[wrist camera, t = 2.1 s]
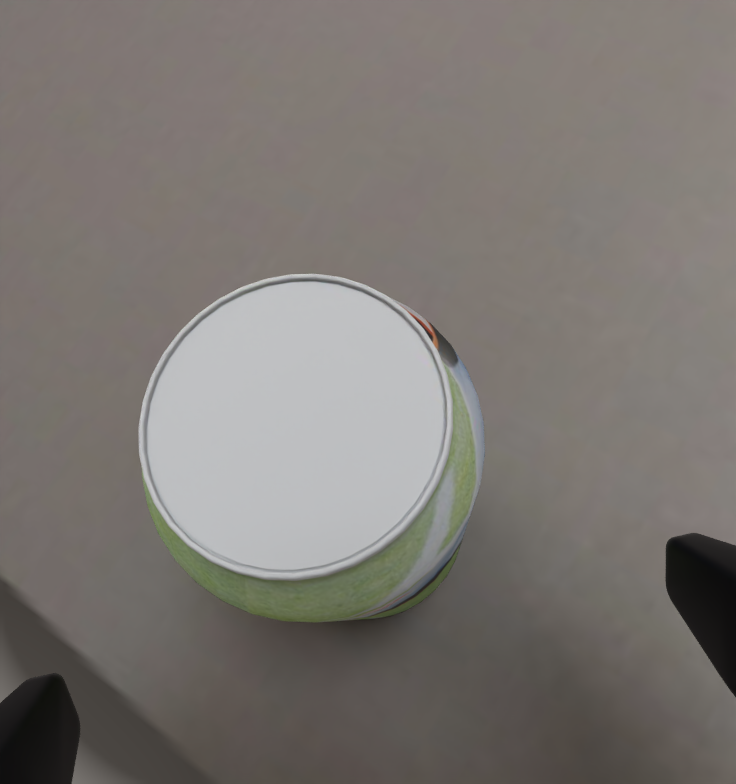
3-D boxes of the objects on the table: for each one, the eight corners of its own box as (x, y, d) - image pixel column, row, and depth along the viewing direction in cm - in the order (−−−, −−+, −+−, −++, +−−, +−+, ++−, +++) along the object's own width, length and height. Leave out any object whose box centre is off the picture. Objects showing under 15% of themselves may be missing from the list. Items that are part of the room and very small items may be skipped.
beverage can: (486, 489, 21) (605, 264, 10) (387, 705, 18) (407, 705, 7) (325, 411, 22) (279, 140, 12) (209, 599, 19) (5, 470, 9)
